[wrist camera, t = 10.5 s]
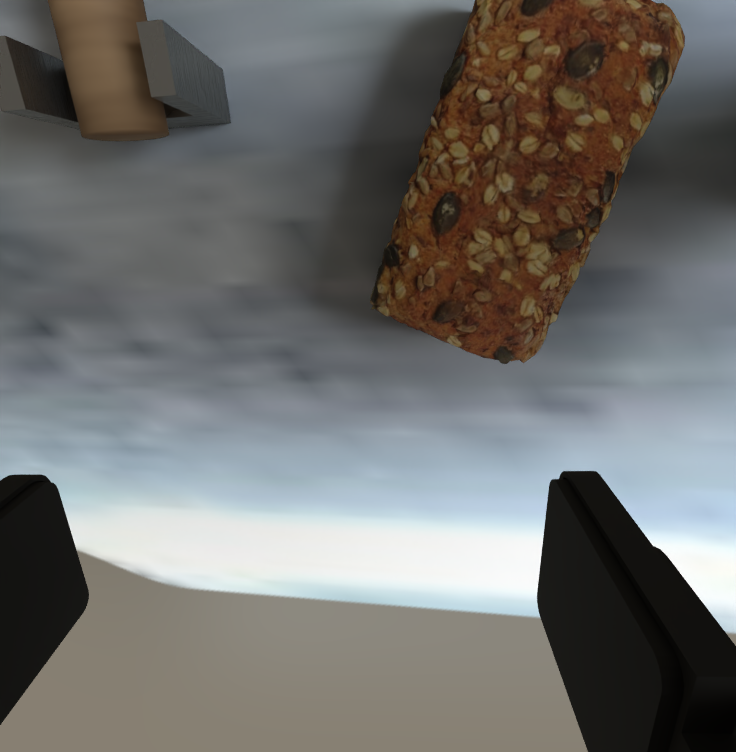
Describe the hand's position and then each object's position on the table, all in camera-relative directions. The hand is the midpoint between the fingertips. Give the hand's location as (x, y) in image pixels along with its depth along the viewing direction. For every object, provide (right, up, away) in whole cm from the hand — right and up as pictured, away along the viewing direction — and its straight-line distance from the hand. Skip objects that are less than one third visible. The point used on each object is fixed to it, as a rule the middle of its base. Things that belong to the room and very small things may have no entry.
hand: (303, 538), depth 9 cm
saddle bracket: (-12, +21, +22) cm, 32 cm away
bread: (+9, +16, +24) cm, 30 cm away
